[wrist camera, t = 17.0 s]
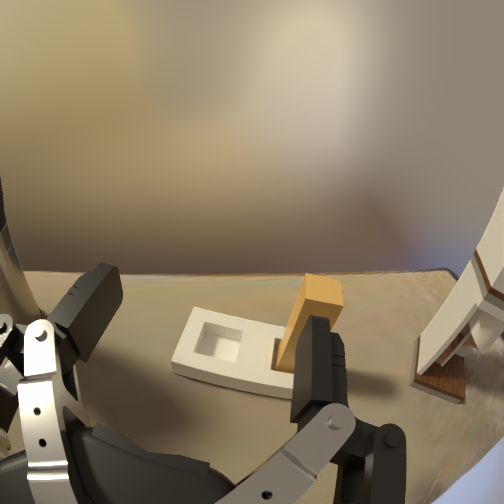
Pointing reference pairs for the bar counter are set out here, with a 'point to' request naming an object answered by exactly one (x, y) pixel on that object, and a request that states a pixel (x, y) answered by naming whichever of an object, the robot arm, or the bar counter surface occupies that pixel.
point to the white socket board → (232, 353)
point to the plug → (308, 303)
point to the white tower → (464, 318)
